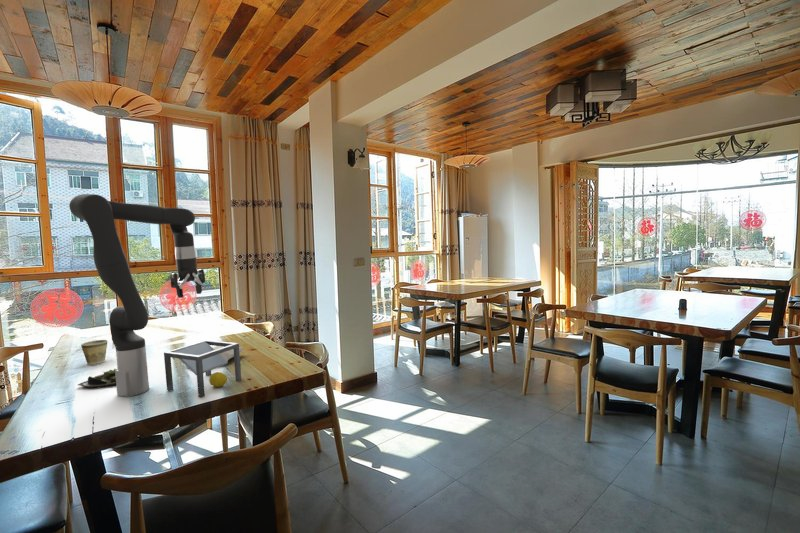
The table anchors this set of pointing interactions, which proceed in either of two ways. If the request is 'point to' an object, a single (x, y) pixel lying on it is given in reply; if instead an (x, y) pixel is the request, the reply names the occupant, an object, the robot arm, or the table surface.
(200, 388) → the trapdoor frame
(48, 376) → the table surface
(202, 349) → the trapdoor
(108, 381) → the salad plate
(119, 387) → the robot arm
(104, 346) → the ceramic cup
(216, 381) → the lemon
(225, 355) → the rock
